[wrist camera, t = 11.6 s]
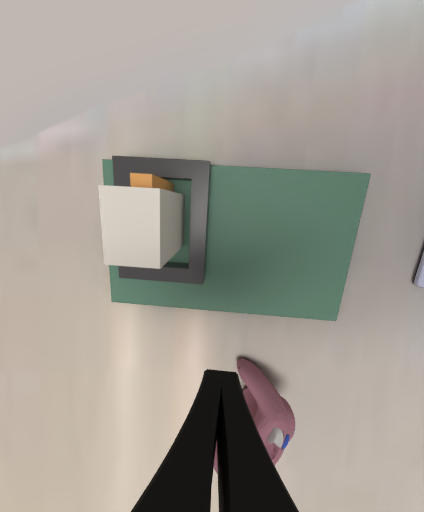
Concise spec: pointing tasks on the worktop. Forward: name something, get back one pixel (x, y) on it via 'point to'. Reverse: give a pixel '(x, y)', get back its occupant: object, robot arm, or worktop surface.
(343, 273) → the circuit board
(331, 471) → the worktop surface
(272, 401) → the pink toy figure
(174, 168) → the frame
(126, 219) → the plug
